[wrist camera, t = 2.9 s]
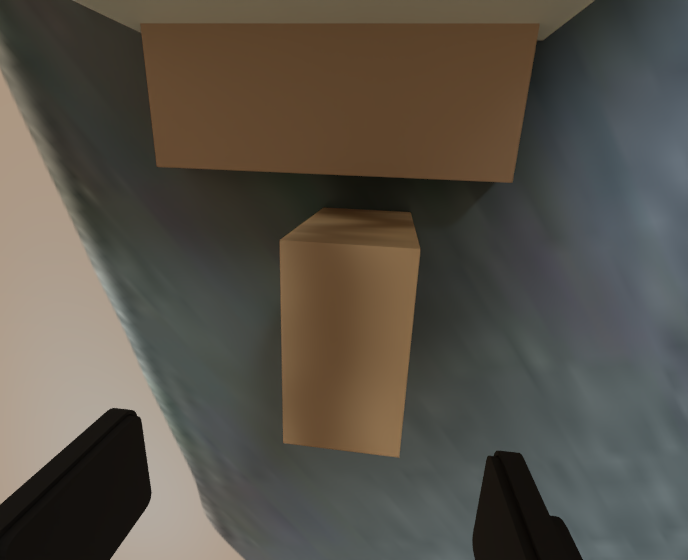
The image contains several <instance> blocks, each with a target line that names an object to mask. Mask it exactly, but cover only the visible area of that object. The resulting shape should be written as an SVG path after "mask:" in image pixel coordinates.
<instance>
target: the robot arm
mask: <svg viewBox="0 0 688 560" xmlns="http://www.w3.org/2000/svg"><path fill="white" fill-rule="evenodd" d="M145 451H146V450H145V443H144V436H143V429H142V422H141V419H140V417H138V416H137V414H136V412H135V411H133V410H127V409H118V408H112V409H110V410H108V411H107V412H106V413H104V414H103V415H102V416H101V417H100V418H99V419H98V420H96V422H94V423H93V424H92V425H91V426H90V427H88V428H87V429H86V430H85V431H84V432H83V433H82V434H81V435H79V436H78V437H77V438H76V439H75V440H74V441H72V442H71V443H70V444H69V445H68V446H67V447H66V448H64V449H63V450H62V451H61V452H60V453H59V454H58V455H56V456H55V457H54V458H53V459H52V460H51V461H50V462H49V463H47V464H46V465H45V466H44V467H43V468H42V469H41V470H39V471H38V472H37V473H36V474H35V475H34V476H32V477H31V478H30V479H29V480H28V481H27V482H26V483H24V484H23V485H22V486H21V487H20V488H19V489H18V490H16V491H15V492H14V493H13V494H12V495H11V496H10V497H8V498H7V499H6V500H5V501H4V502H3V503H2V504H1V505H0V560H110V559H111V557H112V556H113V554H114V553H115V552H116V550H117V549H118V547H119V546H120V545H121V543H122V542H123V540H124V539H125V537H126V536H127V535H128V533H129V532H130V530H131V529H132V527H133V526H134V525H135V523H136V522H137V520H138V519H139V518H140V516H141V515H142V513H143V512H144V511H145V509H146V507H147V506H148V504H149V502H150V499H151V486H150V479H149V472H148V464H147V457H146V452H145ZM472 541H473V552H474V557H475V560H583V559H582V557H581V555H580V553H579V551H578V549H577V547H576V545H575V543H574V541H573V539H572V537H571V534H570V532H569V530H568V528H567V527H566V525H565V523H564V522H563V520H562V519H561V518H559V517H556V516H550V515H549V513H548V511H547V508H546V506H545V504H544V502H543V500H542V497H541V495H540V493H539V491H538V489H537V486H536V484H535V482H534V480H533V478H532V476H531V473H530V471H529V469H528V467H527V465H526V462H525V460H524V458H523V456H522V455H521V454H520V453H515V452H506V451H496V452H495V454H494V456H488V457H487V460H486V466H485V471H484V476H483V482H482V487H481V493H480V498H479V504H478V509H477V514H476V520H475V525H474V531H473V540H472Z"/></svg>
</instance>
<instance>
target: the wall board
mask: <svg viewBox="0 0 688 560" xmlns="http://www.w3.org/2000/svg"><path fill="white" fill-rule="evenodd" d="M73 1H75V2H77V3H79V4H81V5H83V6H85V7H87V8H89V9H91V10H94V11H96V12H98V13H100V14H102V15H104V16H106V17H108V18H110V19H112V20H115V21H117V22H119V23H121V24H123V25H125V26H127V27H129V28H131V29H133V30H136V31H138V32H140V33H141V34H142V43H143V52H144V60H145V69H146V78H147V86H148V95H149V103H150V112H151V121H152V129H153V138H154V147H155V155H156V164H157V167H171V168H193V169H216V170H238V171H261V172H283V173H306V174H328V175H351V176H373V177H395V178H418V179H440V180H463V181H485V182H508V183H512V182H513V176H514V170H515V165H516V159H517V153H518V147H519V141H520V135H521V130H522V124H523V118H524V112H525V106H526V101H527V95H528V89H529V83H530V77H531V71H532V66H533V60H534V54H535V48H536V42H537V40H544V39H545V38H547V37H548V36H549V35H551V34H552V33H553V32H555V31H556V30H557V29H558V28H560V27H561V26H562V25H564V24H565V23H566V22H567V21H569V20H570V19H571V18H573V17H574V16H575V15H576V14H578V13H579V12H580V11H582V10H583V9H584V8H586V7H587V6H588V5H589V4H591V3H592V2H593V1H595V0H73Z"/></svg>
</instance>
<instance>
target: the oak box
mask: <svg viewBox="0 0 688 560" xmlns="http://www.w3.org/2000/svg"><path fill="white" fill-rule="evenodd" d="M419 258H420V246H419V242H418V238H417V234H416V230H415V227H414V223H413V219H412V215H411V212H399V211H380V210H362V209H343V208H325V207H324V208H322V209H321V210H320V211H318V212H317V213H316V214H314V215H313V216H312V217H310V218H309V219H307V220H306V221H305V222H303V223H302V224H301V225H299V226H298V227H297V228H295V229H294V230H293V231H291V232H290V233H288V234H287V235H286V236H284V237H283V238H282V239H280V289H281V344H282V399H283V443H287V444H295V445H303V446H311V447H319V448H327V449H335V450H343V451H351V452H359V453H367V454H375V455H383V456H391V457H399V453H400V444H401V434H402V424H403V414H404V405H405V395H406V385H407V375H408V366H409V356H410V346H411V336H412V327H413V317H414V307H415V297H416V288H417V278H418V268H419Z"/></svg>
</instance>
